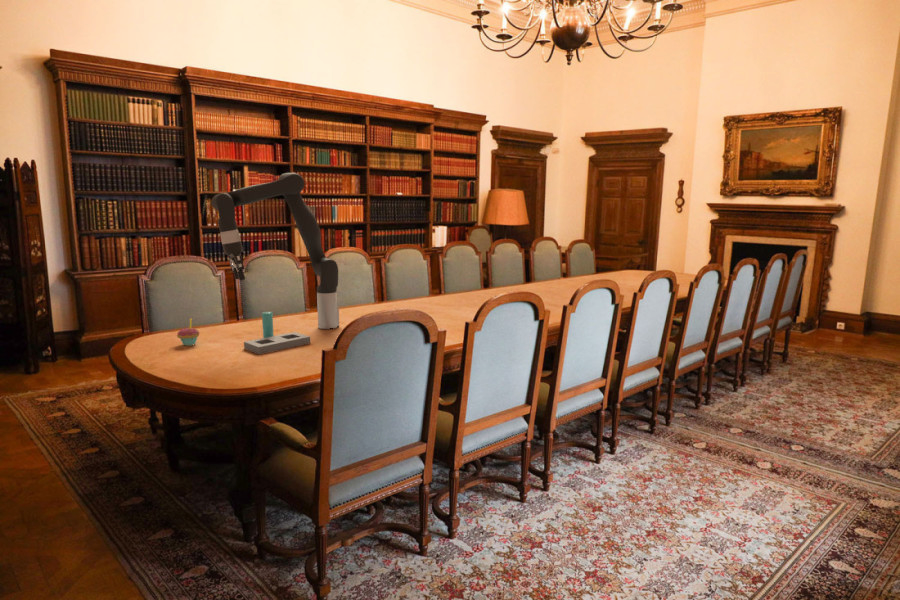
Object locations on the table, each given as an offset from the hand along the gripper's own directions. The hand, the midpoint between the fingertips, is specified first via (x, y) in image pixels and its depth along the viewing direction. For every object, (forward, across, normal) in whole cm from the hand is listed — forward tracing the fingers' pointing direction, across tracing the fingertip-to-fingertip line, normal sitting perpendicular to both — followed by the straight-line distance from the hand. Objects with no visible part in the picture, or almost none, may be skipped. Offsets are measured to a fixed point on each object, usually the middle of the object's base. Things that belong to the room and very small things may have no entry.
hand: (240, 279), depth 243 cm
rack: (+30, -12, -7) cm, 33 cm away
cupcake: (+24, +10, +24) cm, 35 cm away
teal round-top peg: (+29, +2, -6) cm, 29 cm away
